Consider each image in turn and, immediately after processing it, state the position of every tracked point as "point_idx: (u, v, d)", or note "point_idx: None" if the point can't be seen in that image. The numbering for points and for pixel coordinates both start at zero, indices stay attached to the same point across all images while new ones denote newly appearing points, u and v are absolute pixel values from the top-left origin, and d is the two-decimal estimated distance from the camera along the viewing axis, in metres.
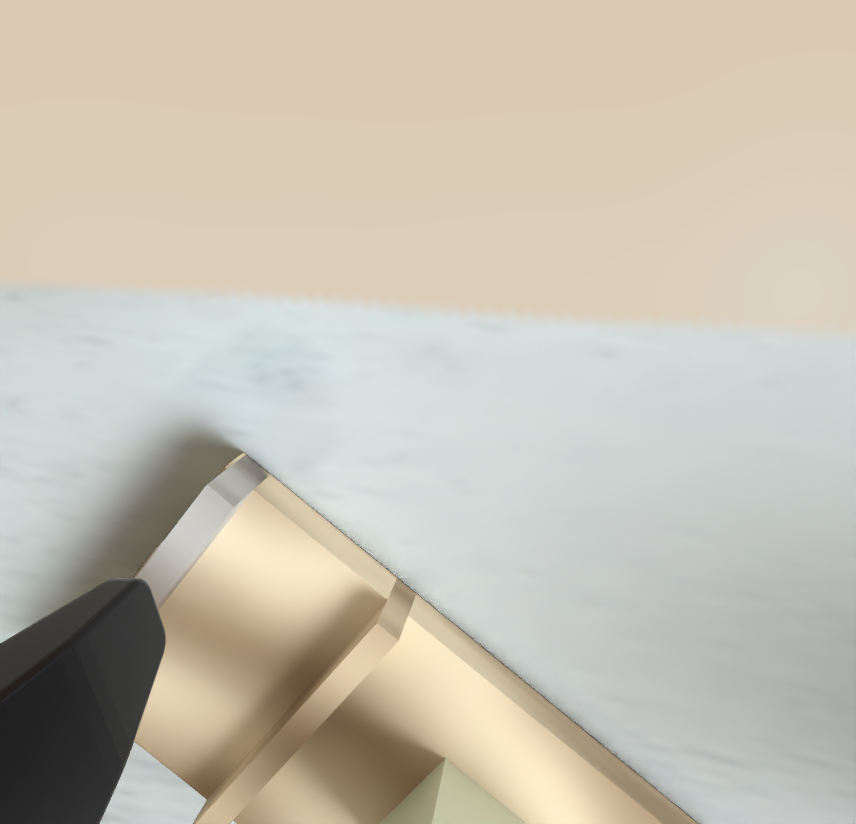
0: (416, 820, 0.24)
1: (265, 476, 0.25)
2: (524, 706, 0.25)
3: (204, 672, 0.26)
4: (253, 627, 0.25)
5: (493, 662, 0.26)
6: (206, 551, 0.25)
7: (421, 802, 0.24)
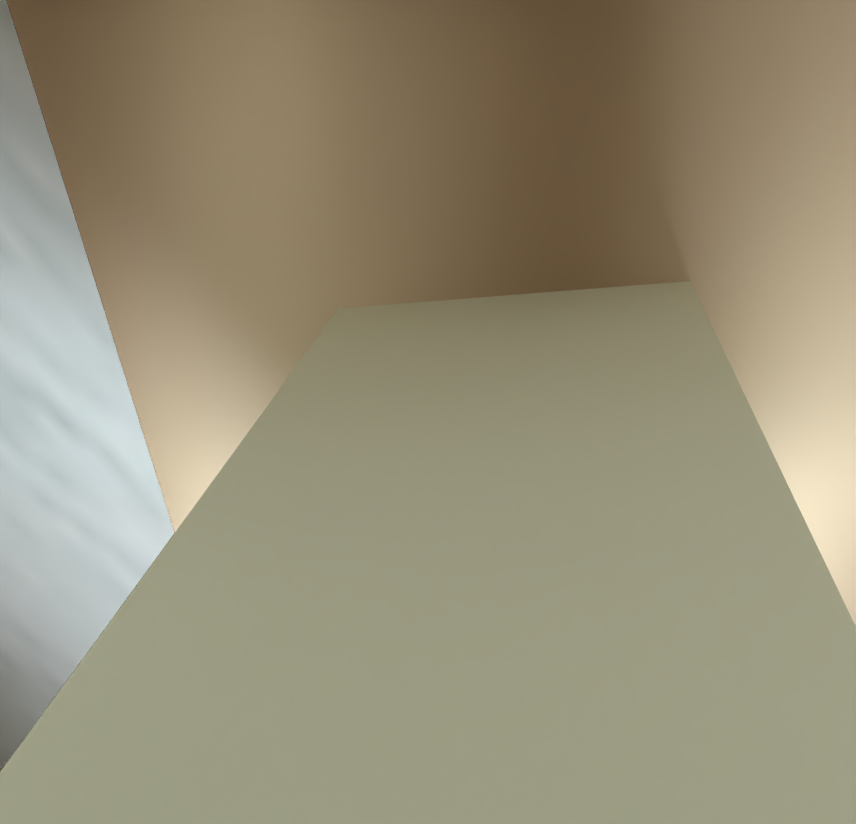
0: (606, 351, 0.07)
1: None
2: None
3: None
4: None
5: None
6: None
7: (611, 326, 0.08)
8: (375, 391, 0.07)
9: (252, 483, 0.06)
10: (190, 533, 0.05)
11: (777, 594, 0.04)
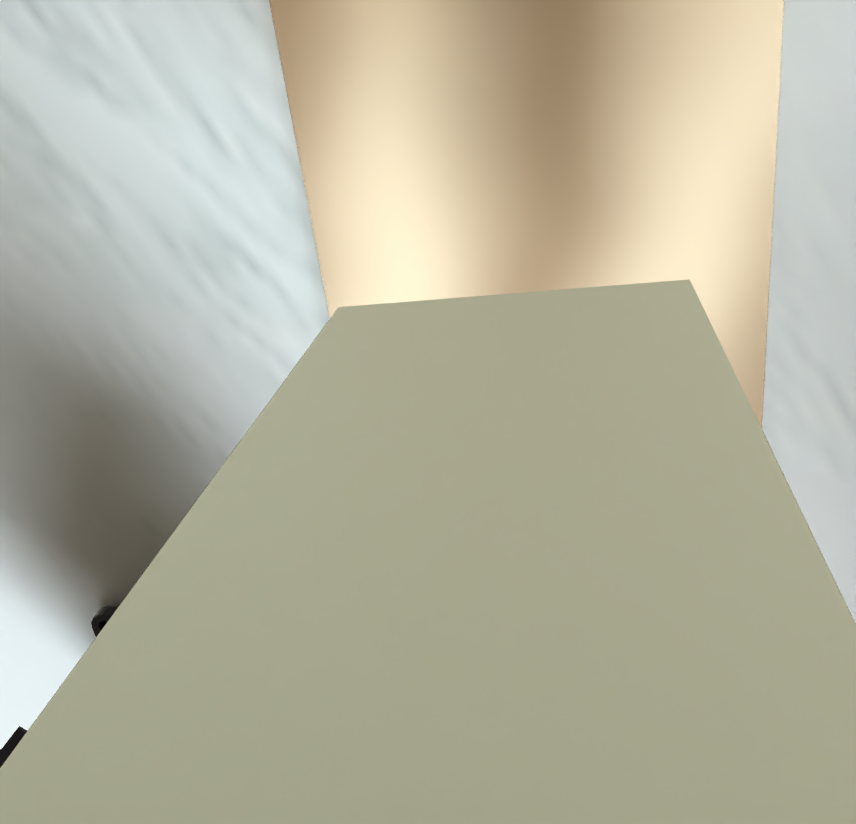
0: (605, 350, 0.07)
1: None
2: (772, 169, 0.17)
3: None
4: None
5: None
6: None
7: (611, 324, 0.08)
8: (374, 389, 0.07)
9: (252, 480, 0.06)
10: (189, 531, 0.05)
11: (776, 590, 0.04)
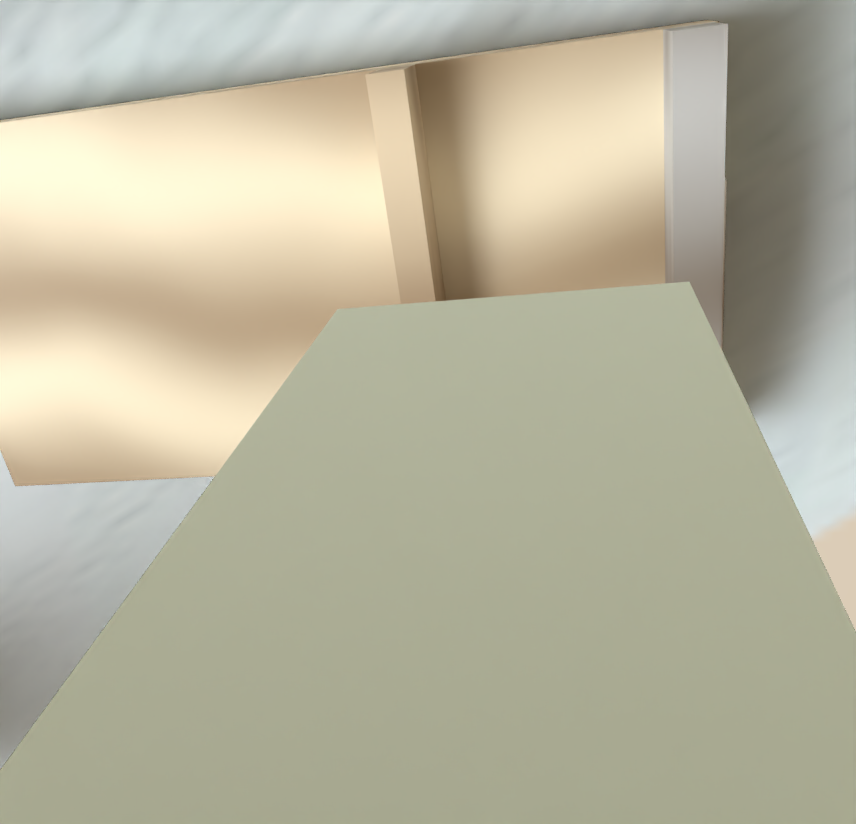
0: (605, 352, 0.07)
1: None
2: None
3: (557, 227, 0.19)
4: None
5: None
6: None
7: (611, 326, 0.08)
8: (374, 392, 0.07)
9: (250, 484, 0.06)
10: (187, 535, 0.05)
11: (776, 596, 0.04)
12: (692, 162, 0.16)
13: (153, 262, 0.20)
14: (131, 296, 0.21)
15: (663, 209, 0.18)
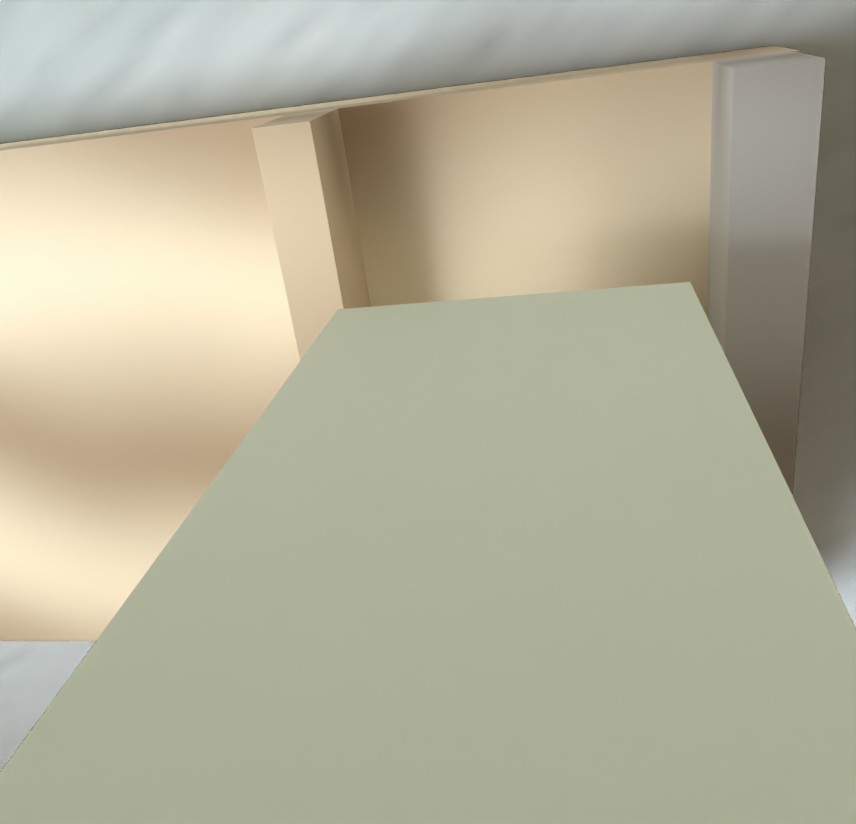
0: (606, 352, 0.07)
1: None
2: None
3: None
4: None
5: None
6: None
7: (612, 327, 0.08)
8: (374, 394, 0.07)
9: (251, 485, 0.06)
10: (190, 536, 0.05)
11: (778, 597, 0.04)
12: (758, 270, 0.10)
13: None
14: None
15: None
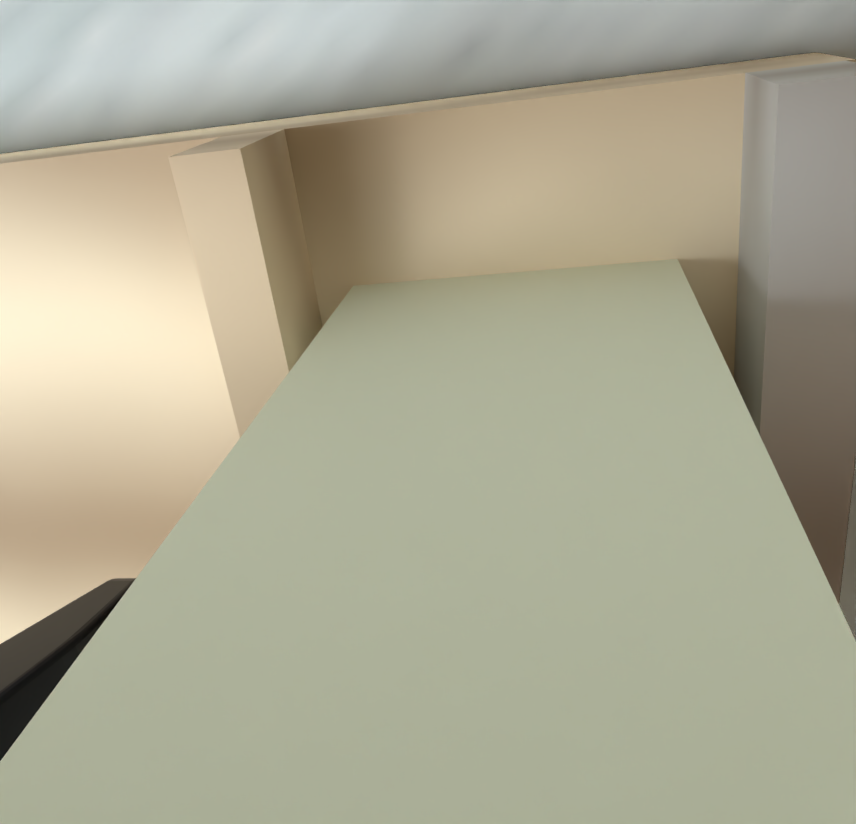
0: (600, 318, 0.08)
1: None
2: None
3: None
4: None
5: None
6: None
7: (605, 297, 0.09)
8: (389, 354, 0.08)
9: (284, 428, 0.07)
10: (231, 467, 0.06)
11: (738, 502, 0.05)
12: (803, 335, 0.08)
13: None
14: None
15: None
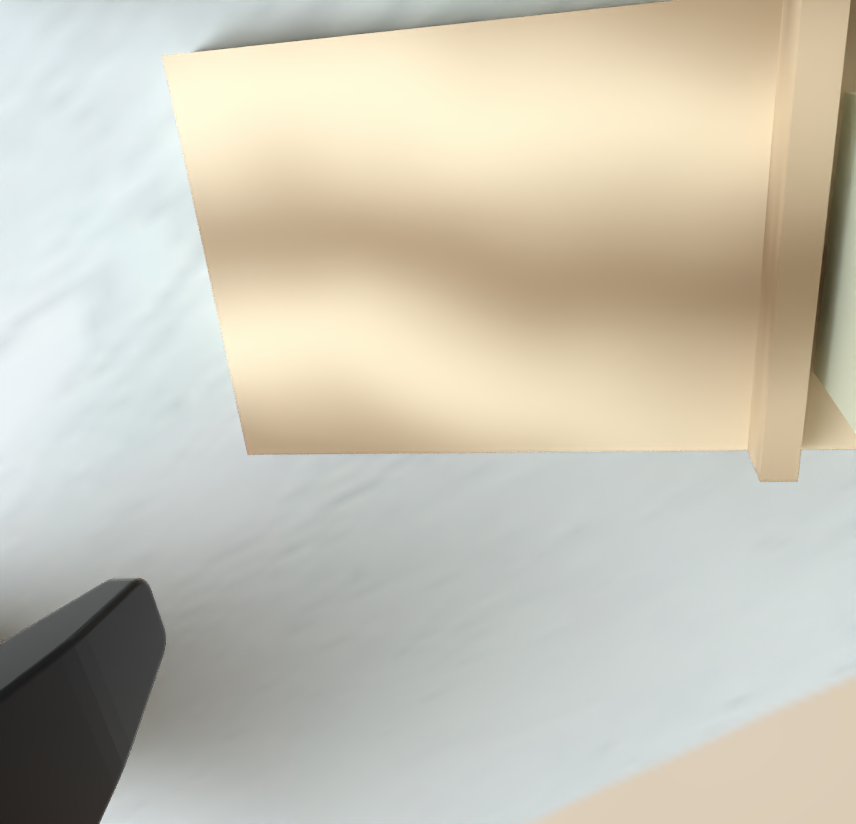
0: None
1: None
2: (557, 447, 0.21)
3: None
4: None
5: None
6: None
7: None
8: None
9: None
10: None
11: None
12: None
13: (462, 206, 0.18)
14: (428, 244, 0.19)
15: None
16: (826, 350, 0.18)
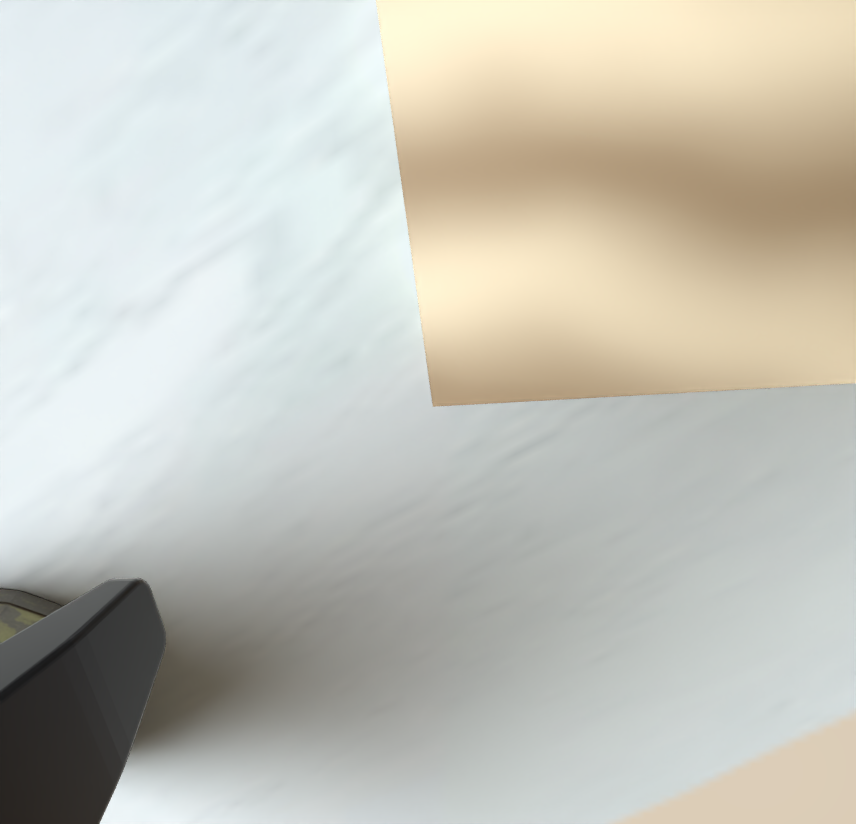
0: None
1: None
2: (772, 383, 0.20)
3: None
4: None
5: None
6: None
7: None
8: None
9: None
10: None
11: None
12: None
13: (693, 123, 0.17)
14: (651, 167, 0.18)
15: None
16: None
